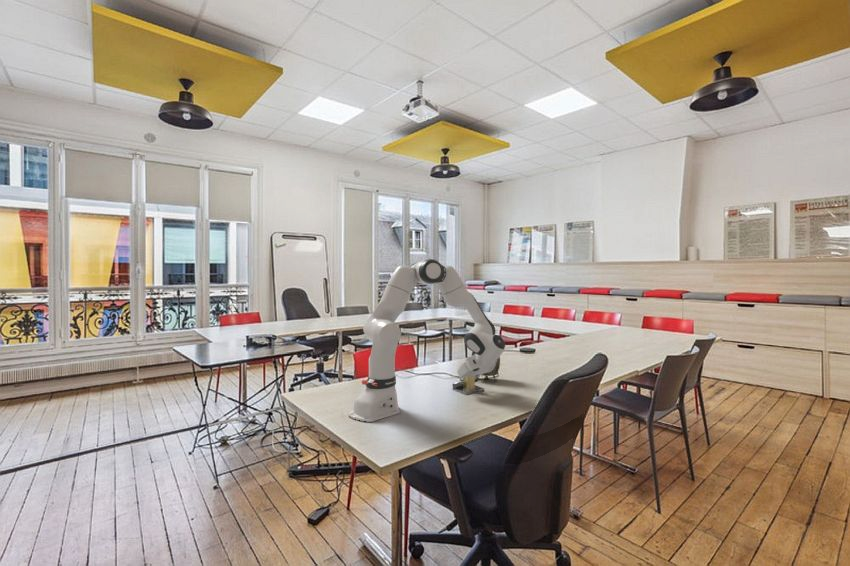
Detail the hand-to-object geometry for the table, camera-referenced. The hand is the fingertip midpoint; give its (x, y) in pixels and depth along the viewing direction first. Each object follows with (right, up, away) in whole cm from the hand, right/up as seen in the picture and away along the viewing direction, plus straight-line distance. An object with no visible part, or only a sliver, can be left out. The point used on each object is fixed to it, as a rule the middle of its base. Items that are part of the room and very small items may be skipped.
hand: (469, 377), depth 194 cm
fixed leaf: (0, -6, +1) cm, 6 cm away
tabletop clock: (+11, -6, +19) cm, 23 cm away
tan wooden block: (0, -5, 0) cm, 5 cm away
